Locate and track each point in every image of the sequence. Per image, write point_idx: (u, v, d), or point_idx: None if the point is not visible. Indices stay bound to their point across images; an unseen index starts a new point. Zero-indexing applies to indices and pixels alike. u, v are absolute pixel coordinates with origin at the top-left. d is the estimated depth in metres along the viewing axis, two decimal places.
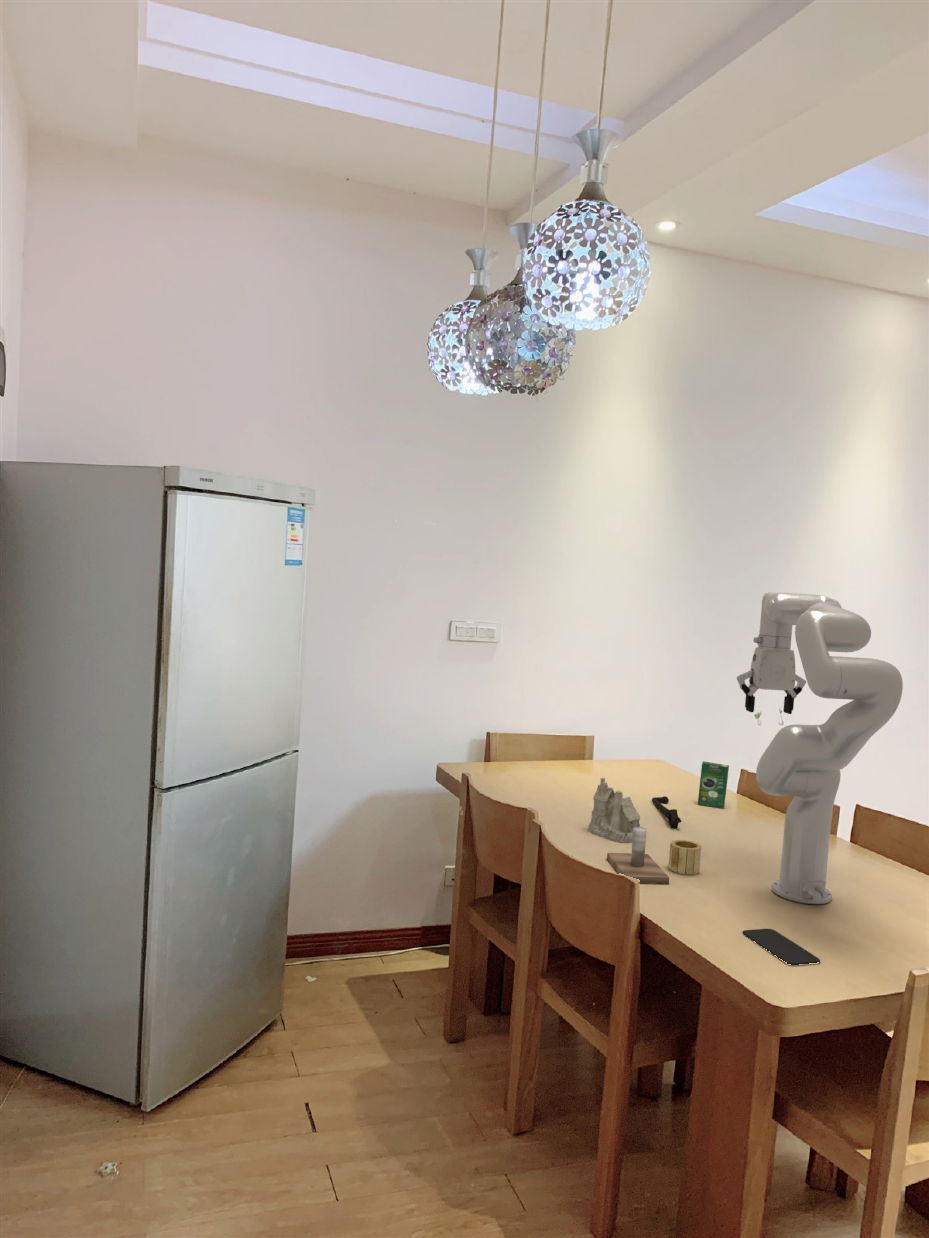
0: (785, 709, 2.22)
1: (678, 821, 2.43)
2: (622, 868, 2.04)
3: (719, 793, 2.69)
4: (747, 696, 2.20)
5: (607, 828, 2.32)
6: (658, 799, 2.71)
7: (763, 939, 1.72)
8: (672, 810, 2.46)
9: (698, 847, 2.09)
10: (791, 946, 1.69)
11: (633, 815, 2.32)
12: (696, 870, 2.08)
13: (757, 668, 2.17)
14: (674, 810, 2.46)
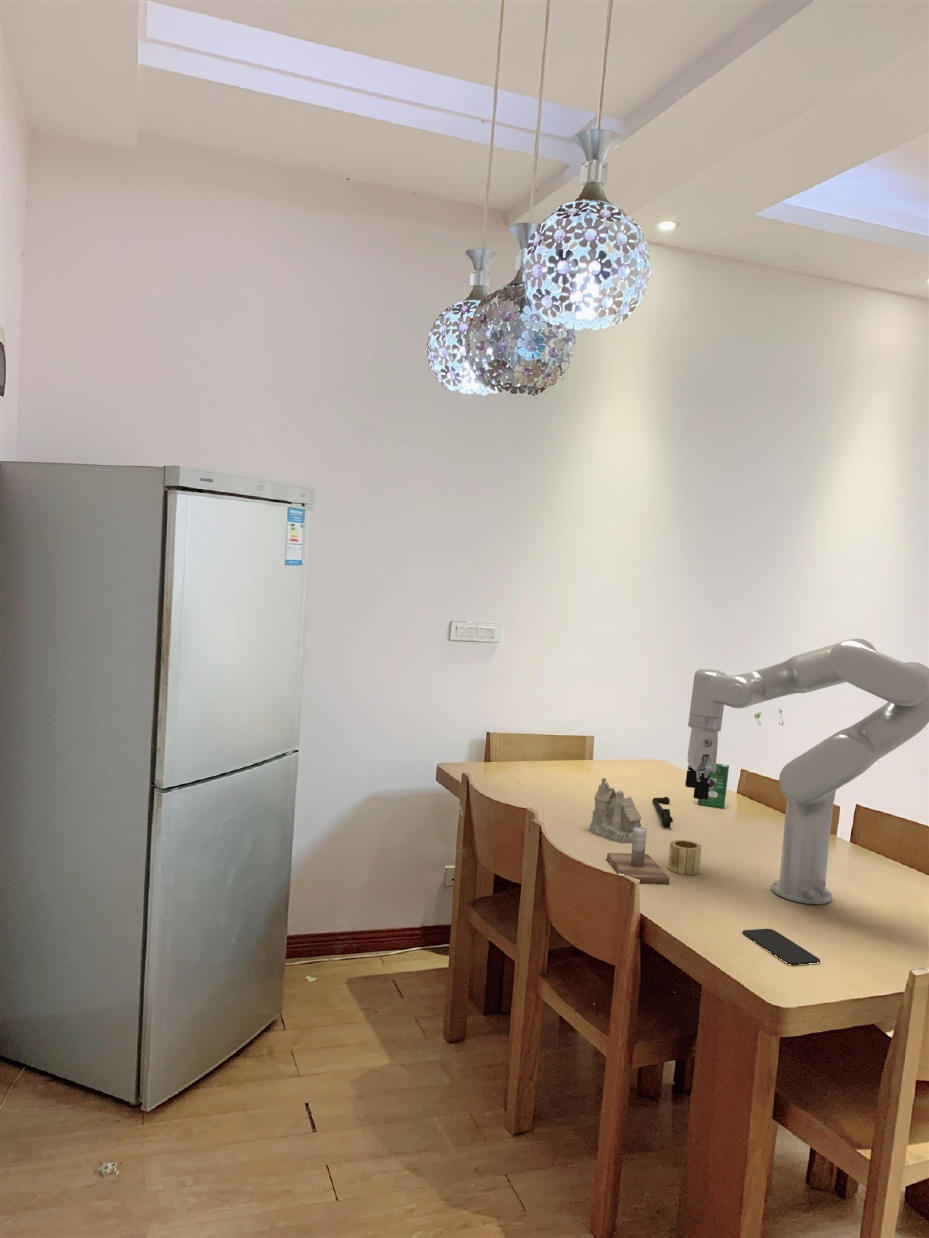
0: (691, 784, 2.17)
1: (670, 821, 2.43)
2: (622, 868, 2.04)
3: (719, 793, 2.69)
4: (704, 784, 2.06)
5: (608, 828, 2.32)
6: (659, 799, 2.71)
7: (763, 939, 1.72)
8: (665, 810, 2.46)
9: (698, 847, 2.09)
10: (791, 946, 1.69)
11: (635, 815, 2.32)
12: (696, 870, 2.08)
13: (715, 753, 2.07)
14: (667, 809, 2.46)
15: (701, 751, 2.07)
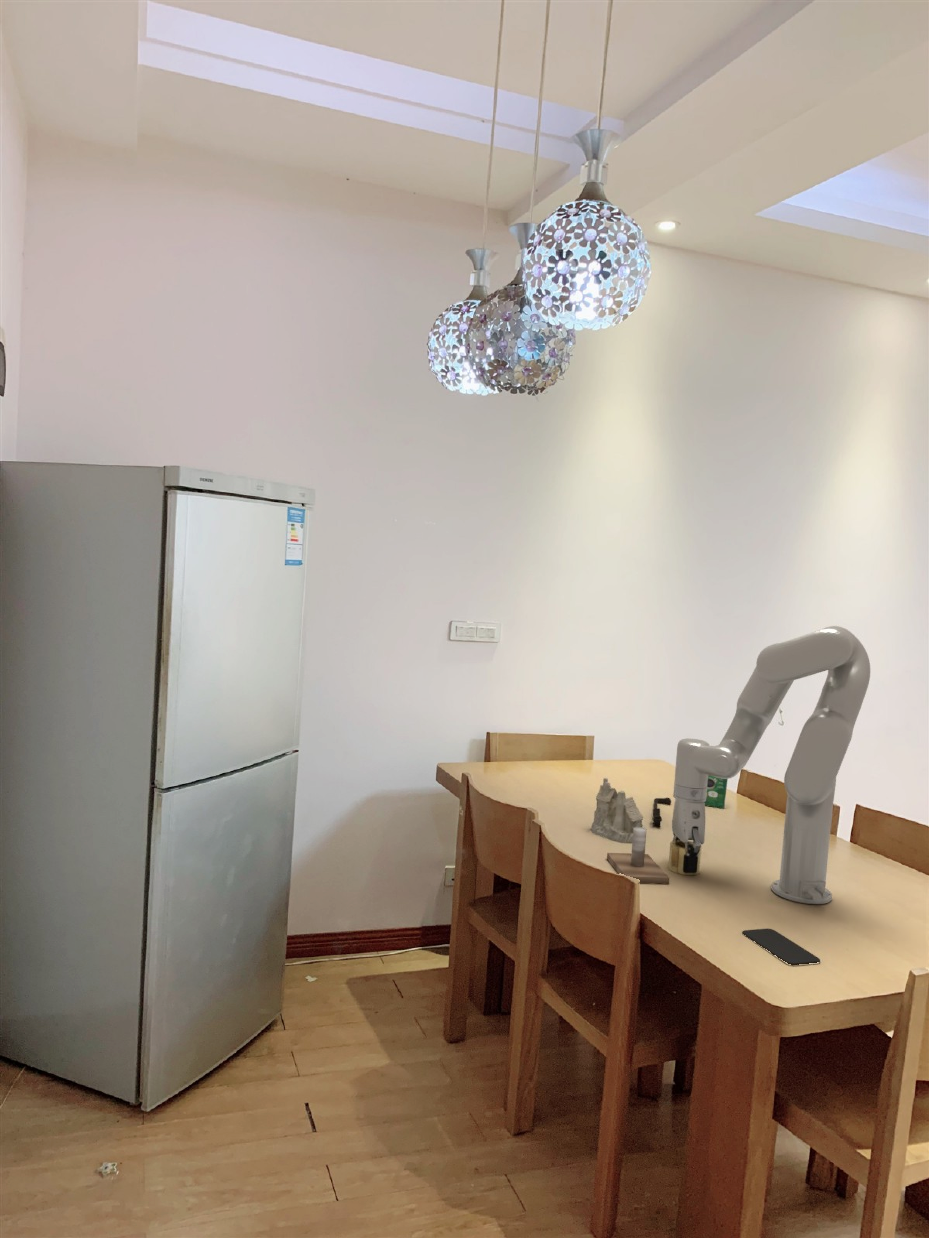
0: None
1: (658, 820, 2.43)
2: (622, 868, 2.04)
3: (719, 793, 2.69)
4: (693, 858, 2.06)
5: (610, 828, 2.32)
6: (660, 800, 2.70)
7: (763, 939, 1.72)
8: (655, 809, 2.46)
9: None
10: (791, 946, 1.69)
11: (636, 815, 2.32)
12: None
13: (704, 824, 2.06)
14: (657, 809, 2.46)
15: (690, 823, 2.05)
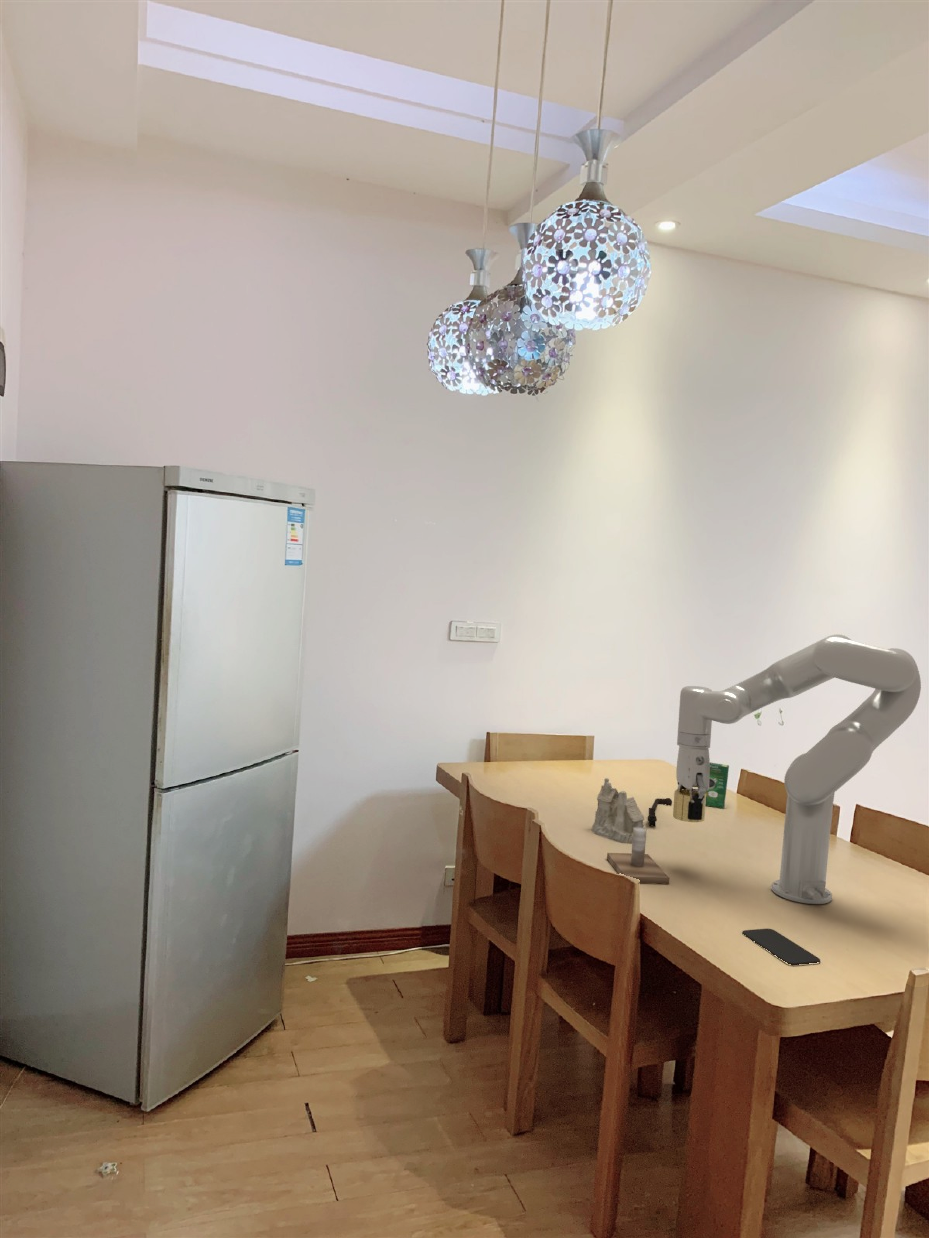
0: None
1: (652, 819, 2.43)
2: (622, 868, 2.04)
3: (719, 793, 2.69)
4: (698, 804, 2.05)
5: (611, 829, 2.32)
6: (661, 800, 2.70)
7: (763, 939, 1.72)
8: (650, 808, 2.46)
9: None
10: (791, 946, 1.69)
11: (637, 815, 2.32)
12: None
13: (708, 771, 2.05)
14: (652, 808, 2.46)
15: (694, 769, 2.04)
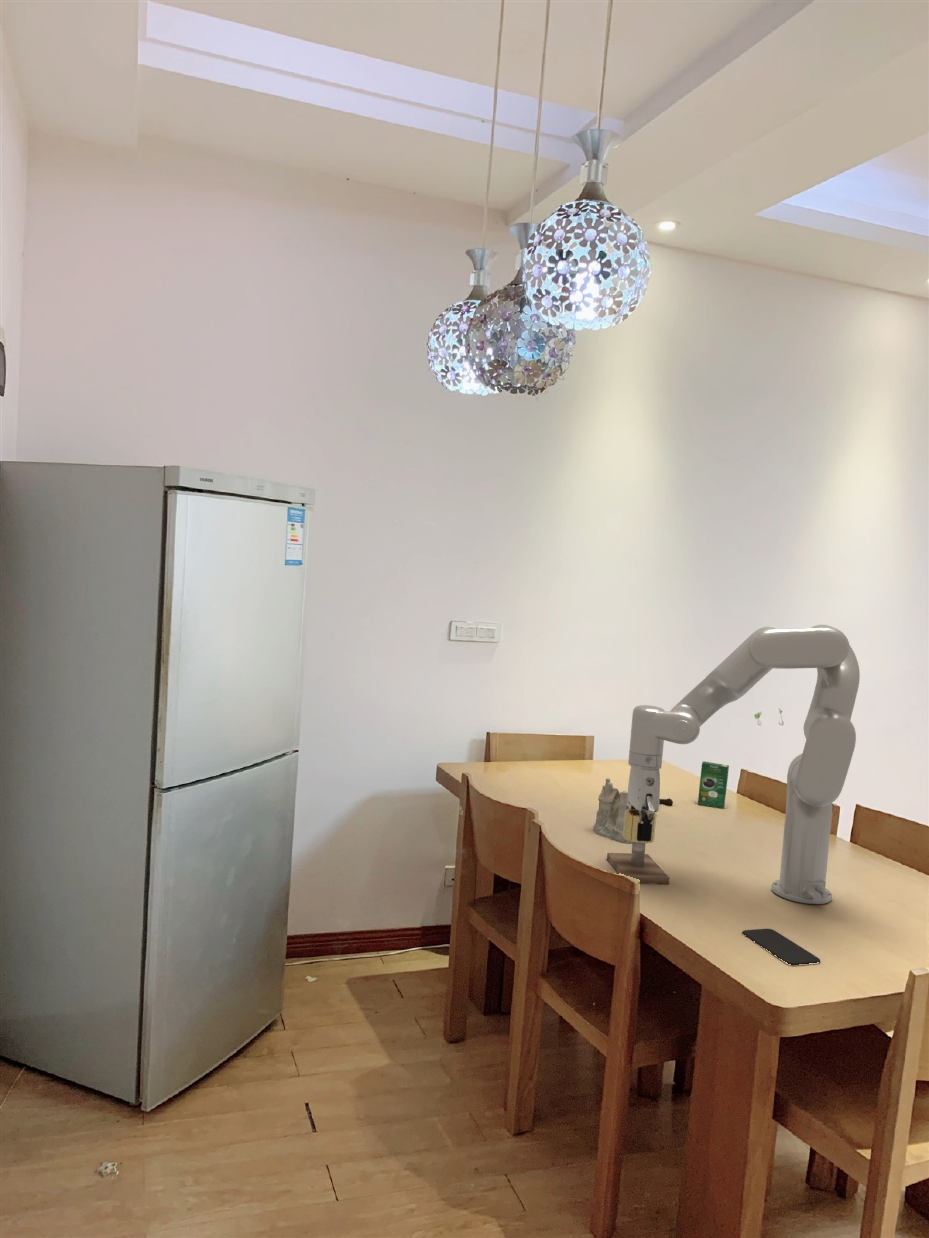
0: None
1: None
2: (622, 868, 2.04)
3: (719, 793, 2.69)
4: (647, 826, 2.02)
5: (613, 829, 2.31)
6: (661, 801, 2.70)
7: (763, 939, 1.72)
8: None
9: None
10: (791, 946, 1.69)
11: None
12: None
13: (658, 792, 2.02)
14: None
15: (644, 790, 2.02)
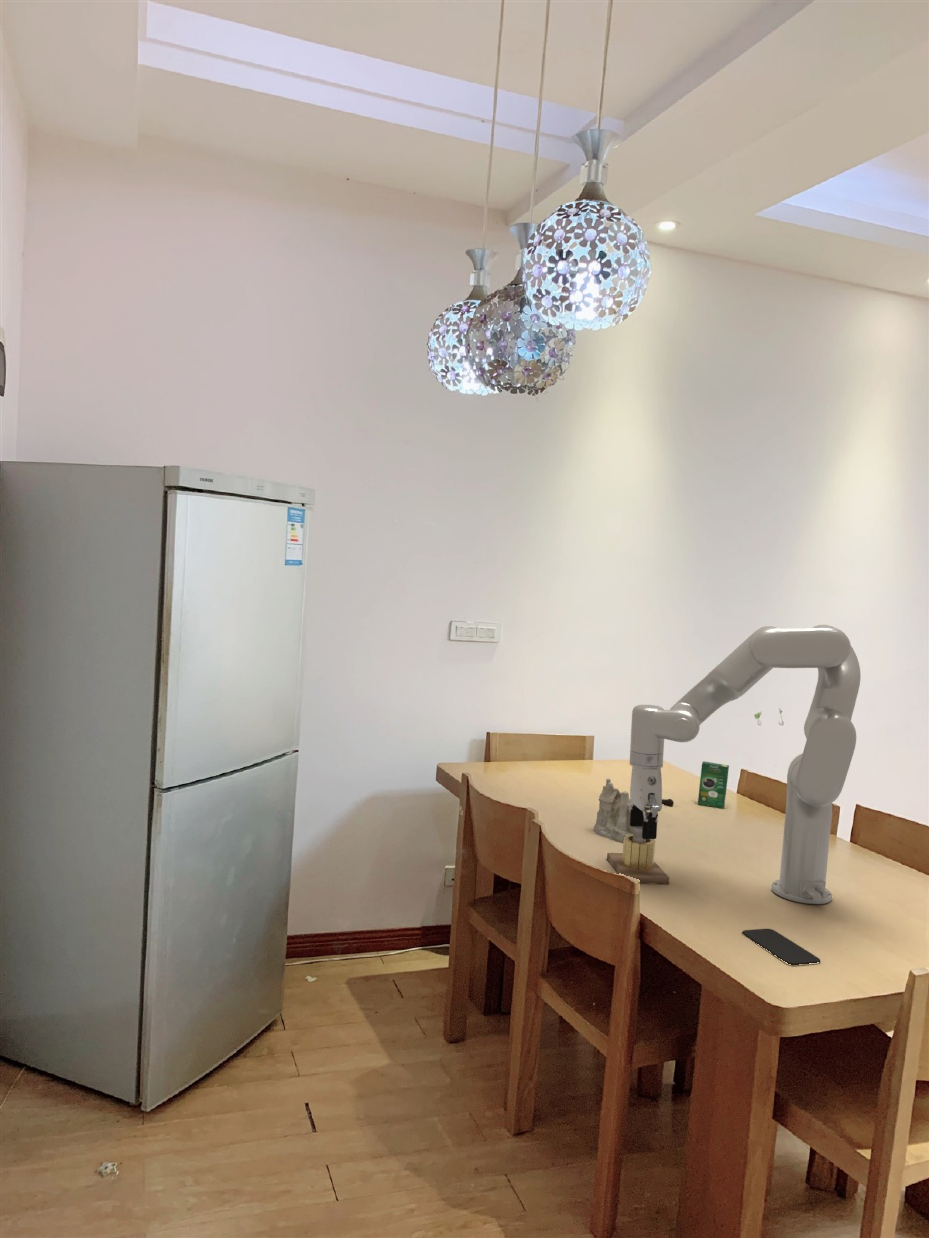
0: (635, 823, 2.11)
1: None
2: (622, 868, 2.04)
3: (719, 793, 2.69)
4: (652, 823, 2.01)
5: (613, 829, 2.31)
6: (662, 801, 2.69)
7: (763, 939, 1.72)
8: None
9: (651, 842, 2.06)
10: (791, 946, 1.69)
11: None
12: (649, 865, 2.05)
13: (660, 791, 2.02)
14: None
15: (646, 790, 2.01)
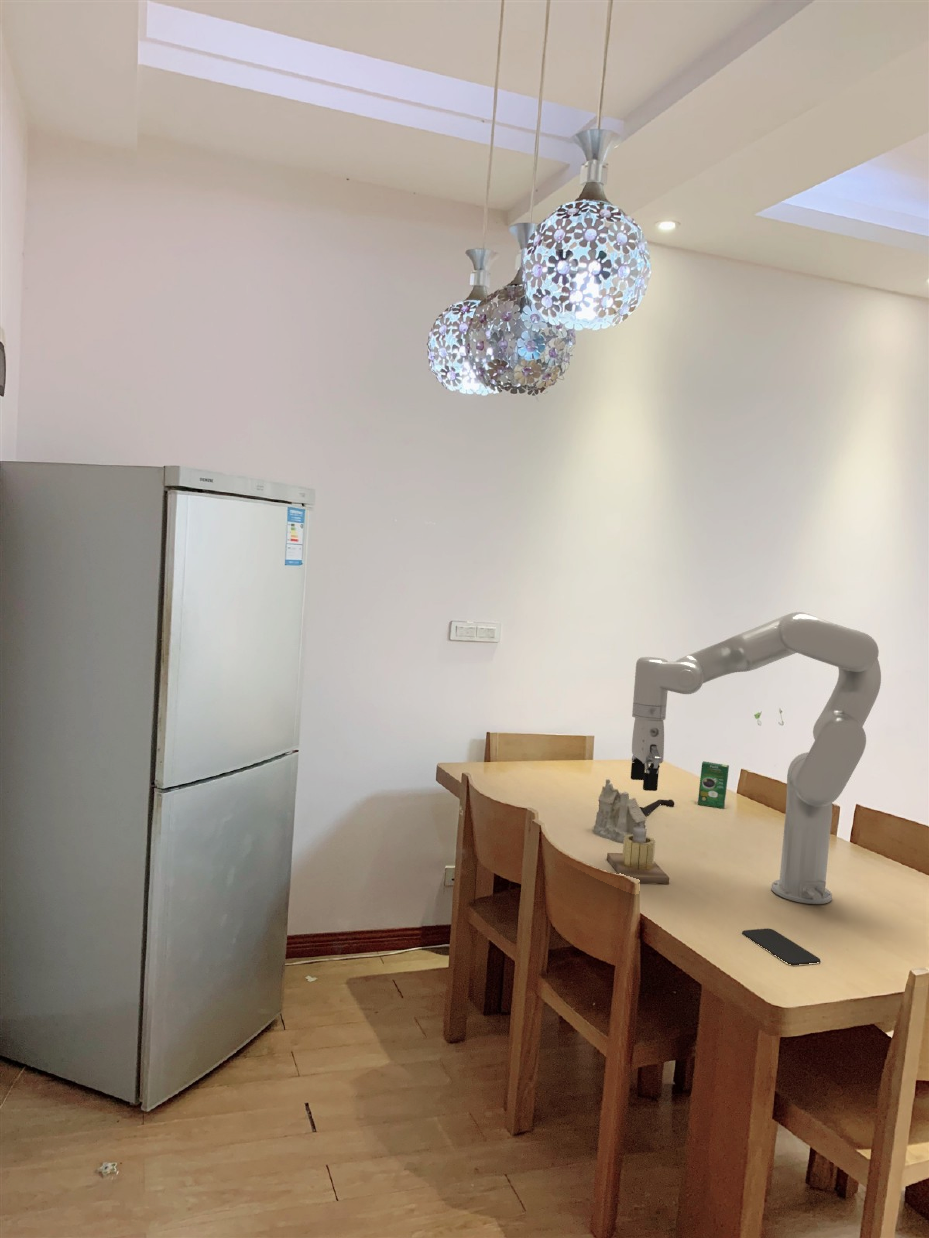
0: (636, 776, 2.11)
1: None
2: (622, 868, 2.04)
3: (719, 793, 2.69)
4: (653, 775, 2.01)
5: (614, 830, 2.31)
6: (663, 801, 2.69)
7: (763, 939, 1.72)
8: None
9: (651, 842, 2.06)
10: (791, 946, 1.69)
11: (640, 816, 2.31)
12: (649, 865, 2.05)
13: (663, 742, 2.01)
14: (640, 807, 2.46)
15: (648, 741, 2.01)
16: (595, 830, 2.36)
